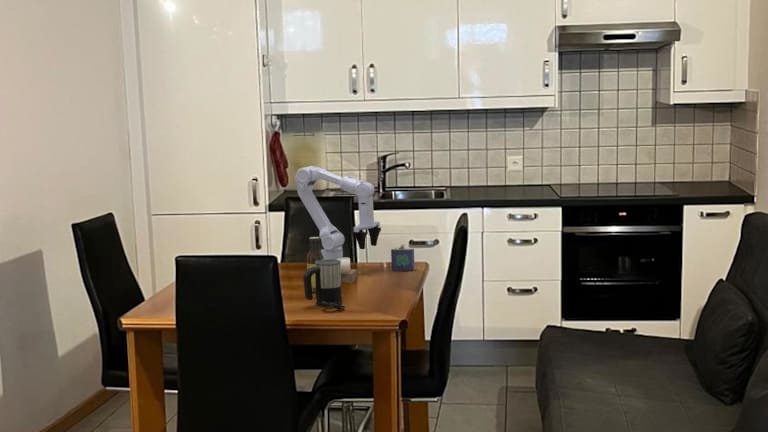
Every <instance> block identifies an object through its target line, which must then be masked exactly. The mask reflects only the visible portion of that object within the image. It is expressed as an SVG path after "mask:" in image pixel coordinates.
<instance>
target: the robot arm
mask: <svg viewBox="0 0 768 432" xmlns="http://www.w3.org/2000/svg"><path fill="white" fill-rule="evenodd" d="M318 180H323V181H326V182H329V183H332V184H335V185H338V186H339V188H340V189H341V190H343V191H345V192H347V193H351V194H353V195H356V197H358V198H357V199H358V218H359V220H358V221H359V224H358V225H356V226H353V231H352V234H353V236H354V237H355V239H356V241H357V245H358V247H359V249H360V250H365V249H366V239H367V234H369V239H370V246H372V247H376V246H377V244H378V238H379V235H380V233H381V231H382V227H381V223H380V222H381V221H375V218H374V217H375V216H374V197H373V195H374V193H375V187H374V184H373V183H370V182H369V181H364V180H362V179H360V180H359V179H356V178H354V177H353V176H352V175H351V174H350V175H345V176H343V177H342V176H340V175H338V174H336V173H333V172H331V171H328V170H326V169H324V168H322V167H318V166H315V165H308V166H306V167H300V168H298V169H297V171H296V173H295V176H294V181H295V182H296V189H297V190H296V192H297V194H298V197H299V198H300V200H301V202H302V203H303V205H304V206H305V208H306V211H308V213H309V215H310V217H311V218H312V220H313V222H314V224H315V225H316V227H317V229H318V230H319V237H320V242H321V245H322V247H323V249H320V250H321V253H322V255H323V258H324V260H328V259H334V260H337V259H338V258H342V257H343V256H344V255H343V253H344V251H343V245H344V243H345V239H346V238H345V236H344V234H343V232H341V231H339V230H338V228H337V227H336V226H334V225H333V224H332V223H331V221H330V219H329V218H328V216H327V214H326V213H325V211H324V210H323V207H322V206H321V205H320V203H319V201H318V199H317V197H316V196H315V194H314V192H313V189H314V185H315V184H316V182H317V181H318ZM366 230H367V231H366Z"/></svg>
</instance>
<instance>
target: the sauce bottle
mask: <svg viewBox="0 0 768 432" xmlns="http://www.w3.org/2000/svg"><path fill="white" fill-rule="evenodd" d="M308 242H309V252H308V253H307V255H306V262H307V263H306V270H307V269H309V268H311V267H316V264H315V262H316V261H319V260H324V258H323V255H322V253H321V250H322V249H321V238H320V236H311V237H309V238H308ZM311 282H312V293H316V280H315V274H313V275H312V277H311Z"/></svg>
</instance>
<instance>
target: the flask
mask: <svg viewBox="0 0 768 432" xmlns="http://www.w3.org/2000/svg"><path fill="white" fill-rule="evenodd" d="M390 256H391V257H390V258H391V259H390V260H391V271H392V272H395V273H396V272H397V273H398V272H412V271H413V272H414V271H415V269H416V268H415V249H414V248H412V247H411V248H409V247H408V248H405V244H400V247H394V248H391V250H390Z"/></svg>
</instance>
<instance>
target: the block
mask: <svg viewBox="0 0 768 432" xmlns="http://www.w3.org/2000/svg"><path fill="white" fill-rule="evenodd" d="M357 280H358V270H357V269H354V268H353V269H351V272H348V273H341V284H353V283H354V282H356V281H357Z"/></svg>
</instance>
